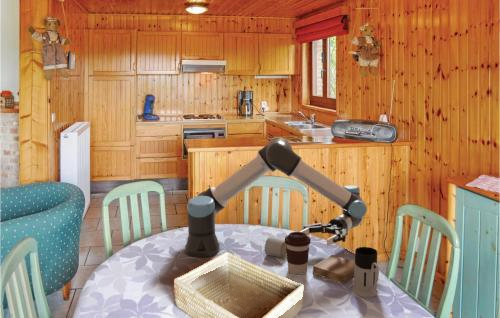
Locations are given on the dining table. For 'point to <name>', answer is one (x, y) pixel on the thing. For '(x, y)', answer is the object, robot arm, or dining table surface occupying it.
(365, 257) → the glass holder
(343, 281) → the walnut slab
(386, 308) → the dining table surface
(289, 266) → the coffee cup
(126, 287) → the dining table surface
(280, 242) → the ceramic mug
